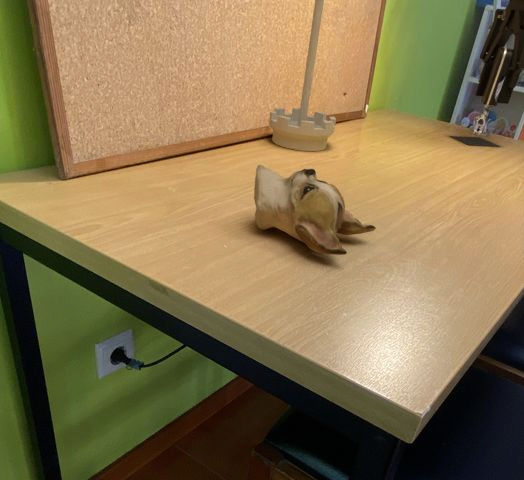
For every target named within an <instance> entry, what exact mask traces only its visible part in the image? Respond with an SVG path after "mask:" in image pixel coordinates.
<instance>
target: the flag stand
mask: <svg viewBox="0 0 524 480" xmlns="http://www.w3.org/2000/svg"><path fill="white" fill-rule="evenodd" d="M324 2H325V1H324V0H314V6H313V12H312V13H313V14H312V20H311V29H310V35H309V40H308V41H309V42H308V49H307V55H306V65H305V71H304V78H303V86H302V93H301V99H300V107H292V108H291V109H292V111H291V113H286V108H284V107H275V108H273V110H271V109H270V111H269V118H268V120H269V121H268V125H269V127H270V128H271V129H272V131H273V132H272V138H271V141H272V142H273V143H274V144H275V145H277V146H279V147H282V148H286V149H290V150H295V151H301V152H302V151H303V152H320V151H324V150H325V149H327V144H328V139H329V137H331V136H332V135H333V134H334V133H335V130H336V129H335V127H336V122H337V118H336V117H335V116H328V120H327V115H328V114H327V113H325V112H323V111H318V110H316V111H314V113H313V116H312V115H308V112H309V111H308V110H309V104H310V97H311V92H312V84H313V77H314V70H315V64H316V56H317V49H318V43H319V37H320V29H321V25H322V23H321V22H322V17H323V10H324V4H325V3H324Z"/></svg>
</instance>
